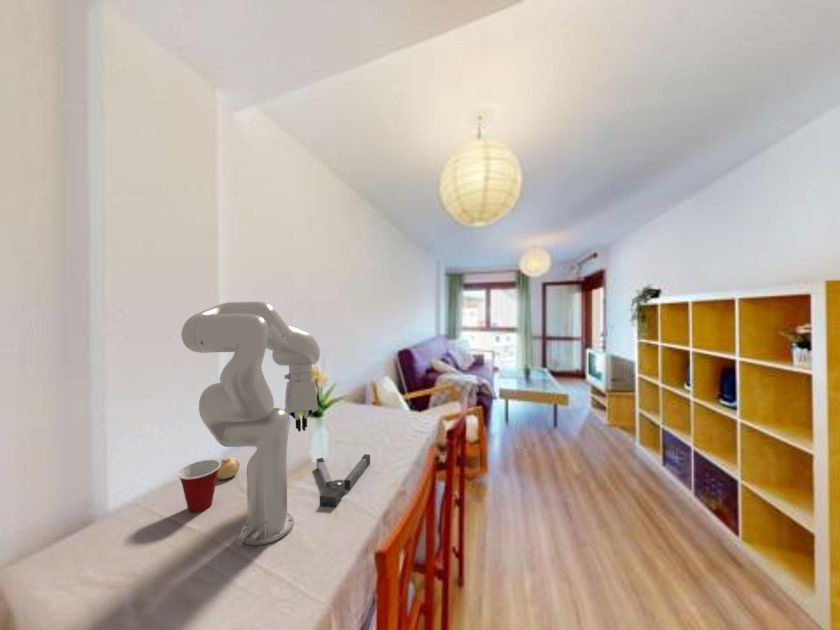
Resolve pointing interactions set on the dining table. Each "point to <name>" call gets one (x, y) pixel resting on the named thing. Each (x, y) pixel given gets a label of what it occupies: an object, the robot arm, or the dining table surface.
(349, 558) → the dining table surface
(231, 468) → the onion
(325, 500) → the tong fixed
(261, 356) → the robot arm
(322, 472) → the tong jaw
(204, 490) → the plastic cup
